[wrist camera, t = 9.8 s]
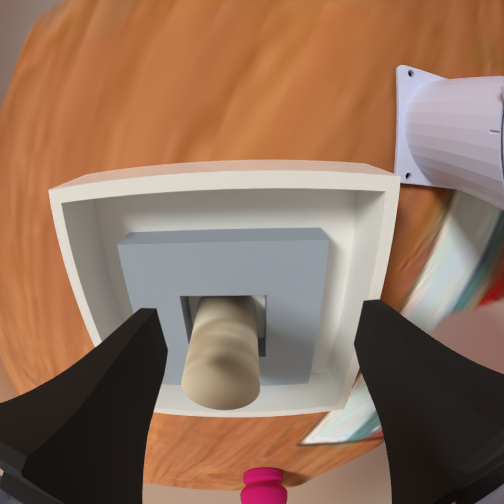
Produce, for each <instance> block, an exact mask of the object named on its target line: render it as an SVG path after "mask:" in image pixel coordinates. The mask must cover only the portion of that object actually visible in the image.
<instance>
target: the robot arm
mask: <svg viewBox="0 0 504 504" xmlns="http://www.w3.org/2000/svg"><path fill="white" fill-rule="evenodd" d="M408 71H409V72H410V73H411V77H410V76H409V75H408ZM396 89H397V126H396V150H395V166H394V174H395V175H398V176H401V180H400V183H405V184H415V185H424V186H433V187H442V188H449V189H457V190H460V191H462V192H465V193H467V194H469V195H471V196H474V197H476V198H478V199H480V200H482V201H484V202H487V203H489V204H491V205H493V206H495V207H497V208H499V209H501V210H503V211H504V76H489V77H472V78H460V79H450V80H448V79H445V78H443V77H440V76H437V75H434V74H431V73H428V72H425V71H422V70H419V69H416V68H412V67H409V66H405V65H400V66H398V67H397V68H396ZM407 173H409V177H408V178H407V179H406V177H405V176H406V174H407ZM354 347H355V351H356V356H357V359H358V363H359V367H360V369H361V372H362V375H363V377H364V380H365V382H366V385H367V387H368V390H369V392H370V395H371V397H372V400H373V403H374V405H375V408H376V410H377V413H378V416H379V419H380V422H381V426H382V430H383V435H384V439H385V444H386V449H387V455H388V461H389V468H390V477H391V486H392V487H391V489H392V504H504V374H502V373H499V372H496V371H494V370H491V369H489V368H486V367H484V366H482V365H479V364H477V363H475V362H473V361H471V360H469V359H467V358H465V357H463V356H462V355H460V354H458V353H456V352H455V351H453V350H451V349H450V348H448V347H446V346H445V345H443V344H442V343H440V342H439V341H437V340H435V339H434V338H432V337H431V336H430V335H428V334H427V333H425V332H424V331H422V330H421V329H420V328H418V327H417V326H415V325H414V324H413V323H411V322H410V321H409V320H407V319H406V318H405V317H403V316H402V315H401V314H399V313H398V312H397V311H395V310H394V309H392V308H391V307H390V306H388V305H387V304H385V303H384V302H382V301H381V300H379V299H376V300H365V301H363V305H362V310H361V314H360V319H359V323H358V328H357V332H356V336H355V340H354ZM167 355H168V348H167V345H166V341H165V338H164V334H163V331H162V327H161V324H160V320H159V316H158V312H157V308H140V309H139V310H138V311H136V312H135V313H134V314H133V315H132V316H130V317H129V318H128V319H127V320H126V321H125V322H124V323H123V324H122V325H120V326H119V327H118V328H117V329H116V330H115V331H114V332H113V333H111V334H110V335H109V336H108V337H107V338H106V339H105V340H104V341H102V342H101V343H100V344H99V345H98V346H96V347H95V348H94V349H93V350H91V351H90V352H89V353H88V354H87V355H85V356H84V357H83V358H82V359H80V360H79V361H78V362H76V363H75V364H74V365H72V366H71V367H70V368H68V369H67V370H65V371H64V372H62V373H61V374H59V375H58V376H56V377H54V378H53V379H51V380H49V381H47V382H46V383H44V384H42V385H40V386H38V387H37V388H35V389H33V390H31V391H29V392H27V393H25V394H22V395H20V396H18V397H15V398H13V399H11V400H8V401H5V402H3V403H0V468H1V469H2V470H3V471H4V473H3V475H2V476H1V475H0V504H142V487H143V469H144V458H145V450H146V442H147V435H148V431H149V426H150V422H151V419H152V415H153V412H154V408H155V405H156V401H157V398H158V395H159V391H160V388H161V385H162V381H163V378H164V374H165V368H166V362H167Z"/></svg>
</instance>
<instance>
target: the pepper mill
mask: <svg viewBox="0 0 504 504" xmlns="http://www.w3.org/2000/svg"><path fill="white" fill-rule="evenodd" d="M282 481H283V475H282V471H281V470H279V469H275V468H255V469H251V470H248V471H246V472H244V474H243V482H244V484H246V485H247V486H246V487H245V488H244V489H243V490H242V491H241V494H240V496H241V502H242V504H286V502H287V490H286V488H285V487H283V486H282V485H281V484H280V483H281V482H282Z"/></svg>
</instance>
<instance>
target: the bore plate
mask: <svg viewBox="0 0 504 504" xmlns="http://www.w3.org/2000/svg"><path fill="white" fill-rule="evenodd" d="M117 247H118V252H119V257H120V261H121V266H122V270H123V274H124V279H125V283H126V287H127V291H128V294H129V298H130V302H131V306H132V309H133V313H135V312H136V311H138V310H139V309H140V308H157V312H158V316H159V320H160V324H161V327H162V331H163V334H164V338H165V341H166V345H167V348H168V355H167V362H166V368H165V374H164V378H163V381H162V384H172V385H181V380H182V376H183V371H184V366H185V362H186V357H187V353H188V348H189V344H190V339H191V335H192V330H193V324H192V318H191V312H190V305H189V299H188V296H239V295H265V321H264V338H258V357H259V376H260V386H277V385H293V384H306V383H308V382H309V377H310V372H311V367H312V361H313V356H314V350H315V345H316V339H317V332H318V326H319V320H320V313H321V306H322V299H323V292H324V284H325V276H326V268H327V259H328V249H329V239H328V237H327V236H326V234H325V233H324V232H323V230H322V229H321V228H249V229H209V230H178V231H153V232H130V233H128V234H127V235H126V236H125V237H124V238H123V239H122V240H121V241H120V242H119V243H118V244H117Z"/></svg>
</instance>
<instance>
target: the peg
mask: <svg viewBox="0 0 504 504" xmlns="http://www.w3.org/2000/svg"><path fill="white" fill-rule="evenodd" d="M181 387H182V390H183V392H184V393H185V395H186V396H187V397H188V398H189V399H190V400H192V401H193V402H195V403H197V404H199V405H201V406H203V407H206V408H210V409H216V410H234V409H239V408H242V407H245V406H247V405H249V404H251V403H252V402H254V401H255V400H256V399H257V397H258V396H259V393H260V376H259V357H258V338H257V319H256V306H255V302H254V300H253V299H252V297H251V296H250V295H239V296H202V297H201V299H200V302H199V305H198V309H197V313H196V318H195V322H194V326H193V330H192V335H191V339H190V344H189V348H188V353H187V357H186V362H185V366H184V371H183V376H182V380H181Z"/></svg>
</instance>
